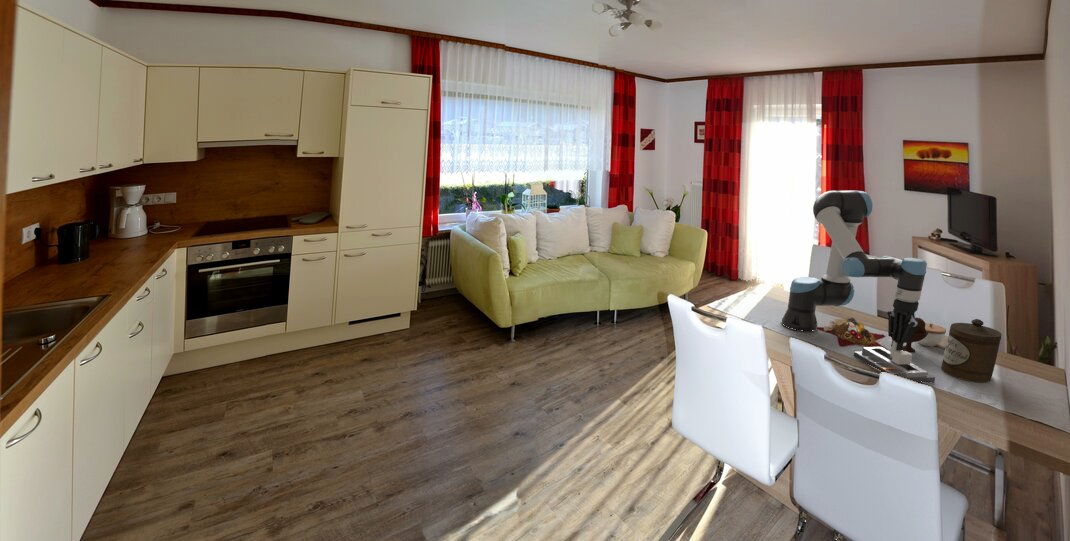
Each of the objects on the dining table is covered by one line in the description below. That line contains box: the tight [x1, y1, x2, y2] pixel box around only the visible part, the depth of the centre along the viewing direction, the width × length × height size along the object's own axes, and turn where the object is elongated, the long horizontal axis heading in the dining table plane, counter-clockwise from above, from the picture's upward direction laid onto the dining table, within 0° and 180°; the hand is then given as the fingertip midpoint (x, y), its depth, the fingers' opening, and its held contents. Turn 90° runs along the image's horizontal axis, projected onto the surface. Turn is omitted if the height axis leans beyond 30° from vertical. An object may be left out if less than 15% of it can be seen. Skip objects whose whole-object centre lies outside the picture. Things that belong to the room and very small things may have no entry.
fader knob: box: [892, 351, 913, 370], centre depth 189 cm, size 3×5×6 cm
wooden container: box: [940, 318, 1002, 383], centre depth 187 cm, size 15×15×22 cm
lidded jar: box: [918, 322, 947, 347], centre depth 216 cm, size 11×11×9 cm
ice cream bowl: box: [902, 317, 929, 354], centre depth 209 cm, size 11×11×15 cm
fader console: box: [853, 346, 936, 384], centre depth 194 cm, size 24×14×4 cm, turn 4°
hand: (894, 356), depth 193 cm, fingers closed
